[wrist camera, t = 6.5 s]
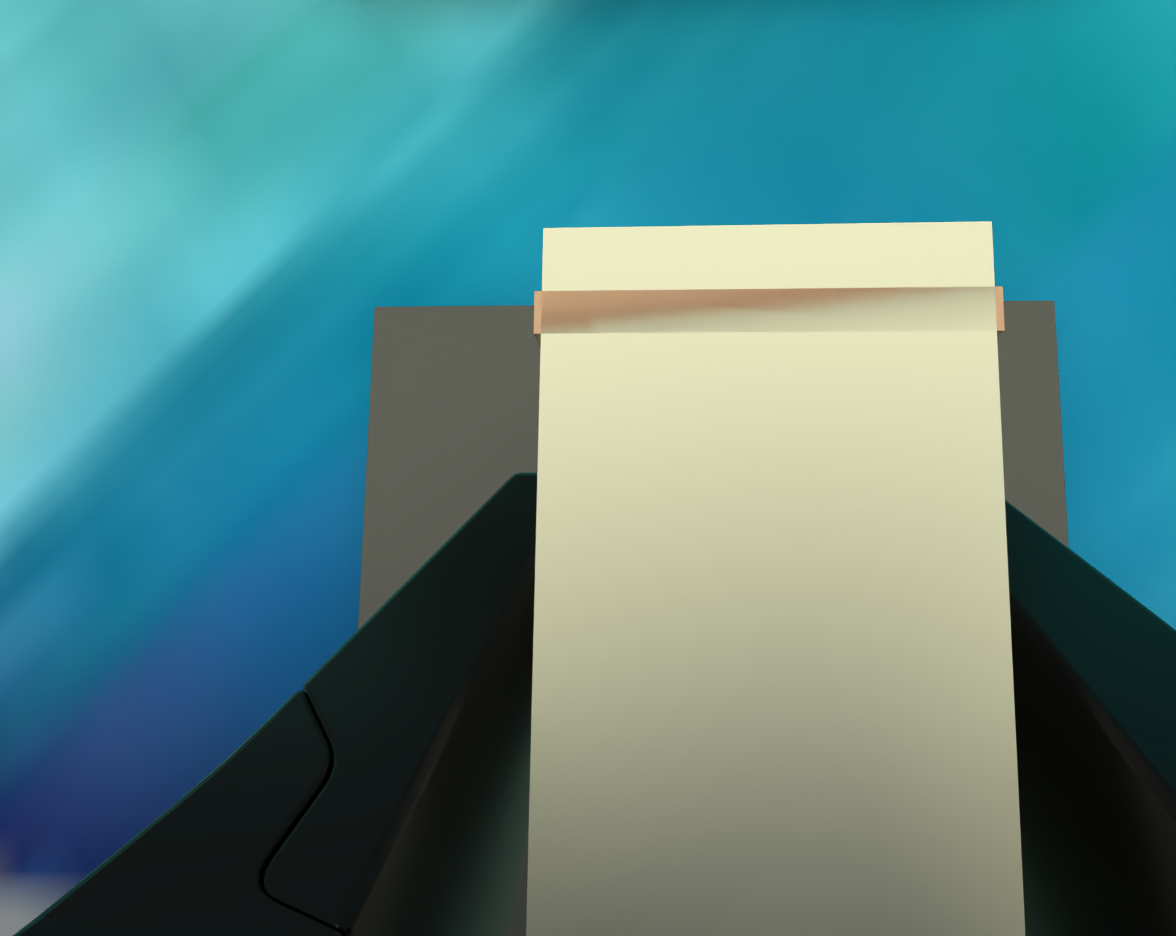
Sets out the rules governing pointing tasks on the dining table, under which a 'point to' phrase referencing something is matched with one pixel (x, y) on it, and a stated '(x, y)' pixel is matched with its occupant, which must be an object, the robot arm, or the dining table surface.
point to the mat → (511, 422)
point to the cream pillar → (772, 586)
